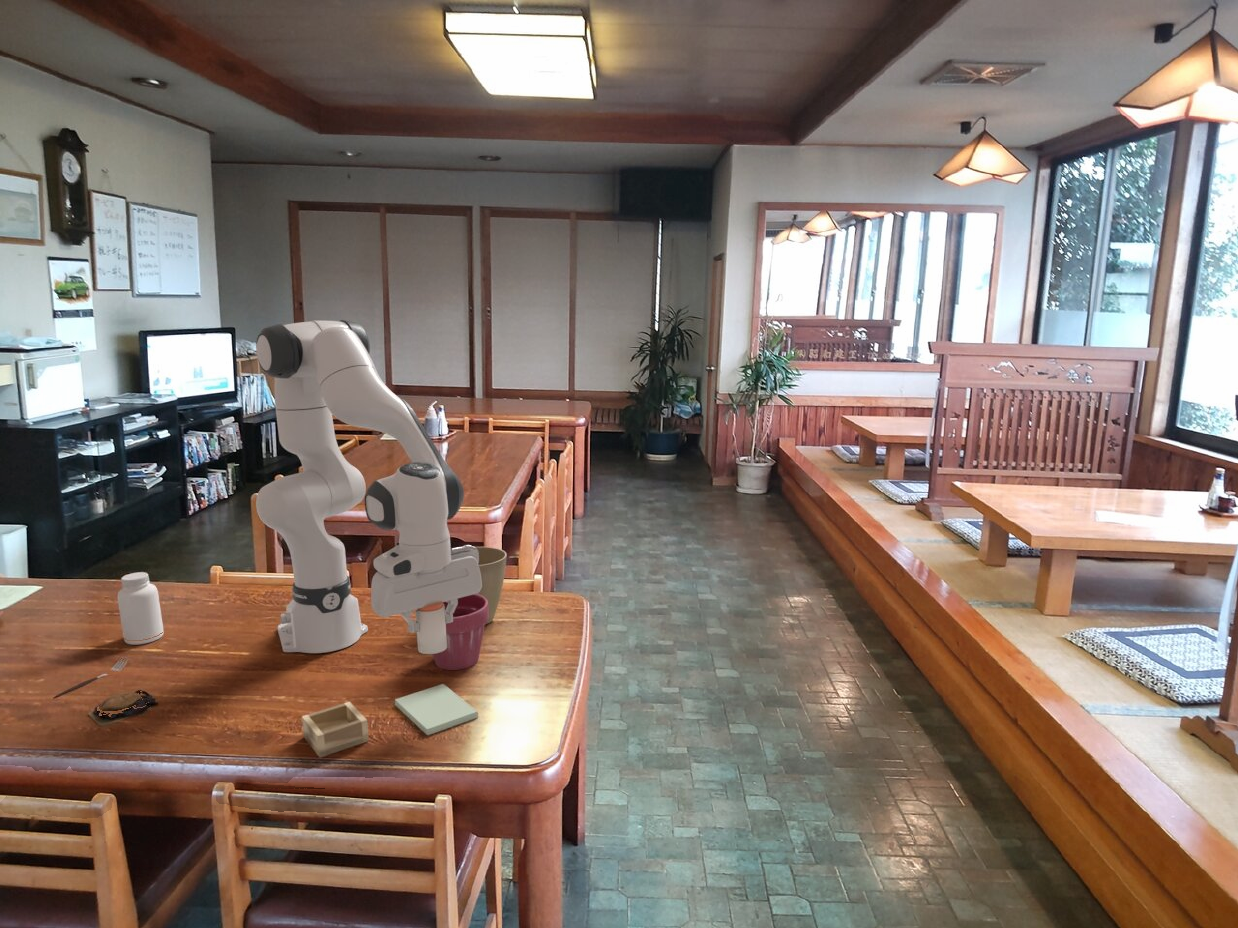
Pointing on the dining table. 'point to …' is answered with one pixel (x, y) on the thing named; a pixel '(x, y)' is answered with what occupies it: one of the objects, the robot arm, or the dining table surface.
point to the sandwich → (122, 706)
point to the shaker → (431, 628)
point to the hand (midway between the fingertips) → (430, 626)
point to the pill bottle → (139, 609)
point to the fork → (92, 679)
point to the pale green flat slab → (436, 709)
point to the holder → (335, 729)
